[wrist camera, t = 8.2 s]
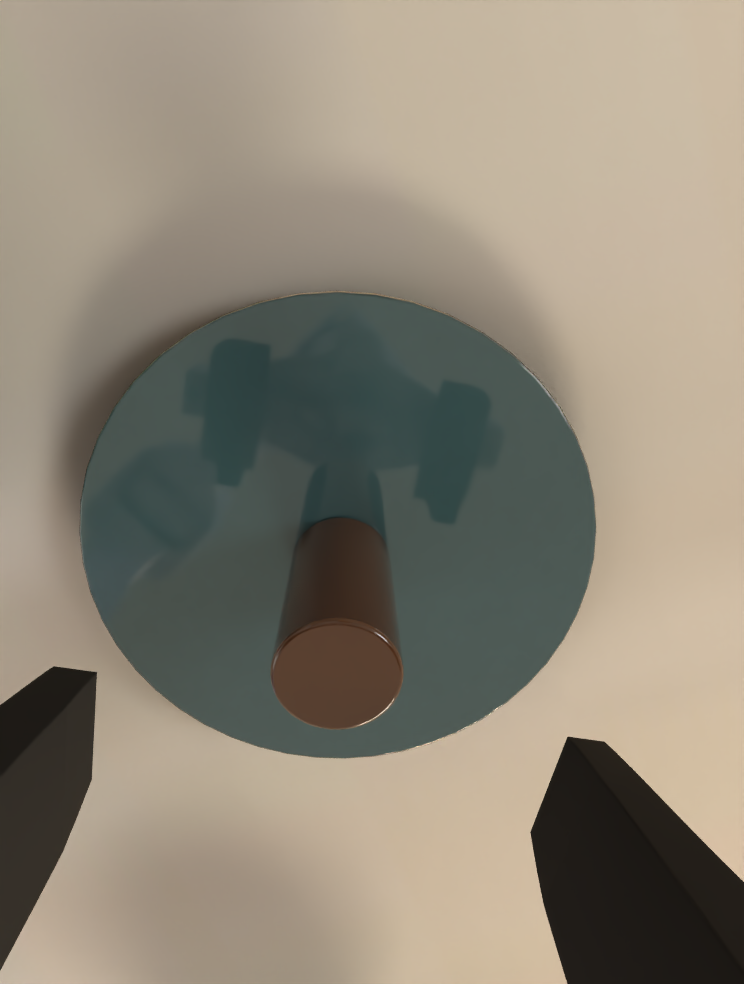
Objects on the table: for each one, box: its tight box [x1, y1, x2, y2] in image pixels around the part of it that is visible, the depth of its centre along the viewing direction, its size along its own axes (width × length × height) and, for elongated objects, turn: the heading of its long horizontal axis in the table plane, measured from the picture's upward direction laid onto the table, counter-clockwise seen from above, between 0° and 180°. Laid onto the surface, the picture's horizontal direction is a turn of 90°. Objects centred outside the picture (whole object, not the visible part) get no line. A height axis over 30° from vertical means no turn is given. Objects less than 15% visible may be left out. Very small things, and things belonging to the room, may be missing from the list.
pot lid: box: [79, 291, 596, 758], centre depth 14 cm, size 13×13×6 cm
